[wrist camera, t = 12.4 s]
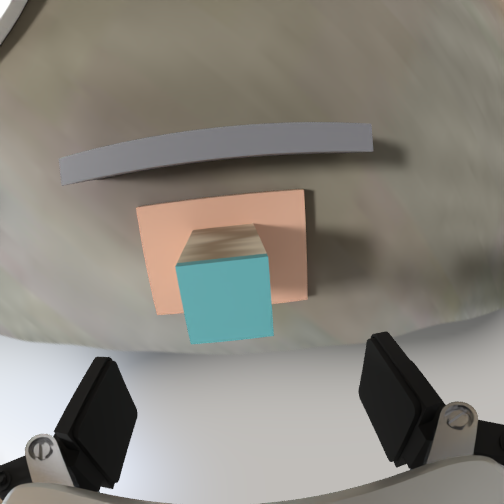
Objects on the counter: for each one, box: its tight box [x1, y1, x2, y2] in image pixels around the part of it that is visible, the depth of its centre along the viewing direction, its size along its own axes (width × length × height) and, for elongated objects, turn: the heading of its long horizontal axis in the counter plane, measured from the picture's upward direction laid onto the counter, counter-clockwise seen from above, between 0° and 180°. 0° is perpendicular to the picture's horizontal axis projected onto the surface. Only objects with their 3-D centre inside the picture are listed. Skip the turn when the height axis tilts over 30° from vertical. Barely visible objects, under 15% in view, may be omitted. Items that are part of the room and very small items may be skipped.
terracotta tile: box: [136, 189, 307, 315], centre depth 25 cm, size 14×10×1 cm
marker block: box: [175, 223, 274, 344], centre depth 21 cm, size 5×5×9 cm
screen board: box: [59, 122, 373, 186], centre depth 20 cm, size 22×2×6 cm, turn 95°
